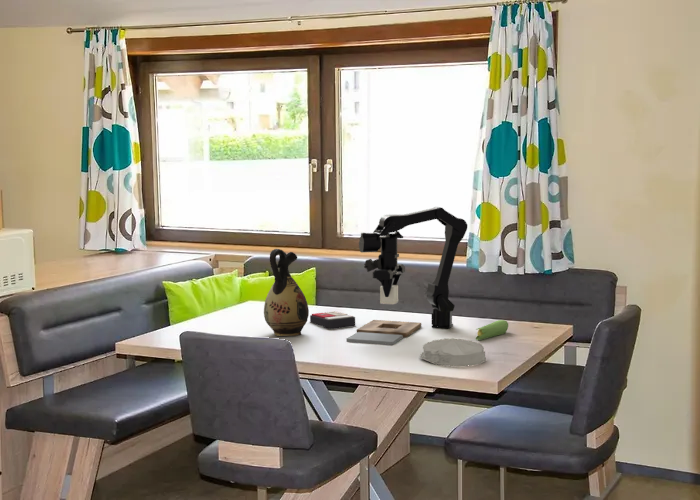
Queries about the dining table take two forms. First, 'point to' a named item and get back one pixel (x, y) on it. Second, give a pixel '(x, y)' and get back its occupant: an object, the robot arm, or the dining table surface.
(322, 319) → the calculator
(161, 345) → the dining table surface
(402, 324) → the pocket plate
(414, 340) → the dining table surface
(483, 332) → the edible corn
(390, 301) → the white block
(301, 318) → the ceramic jug
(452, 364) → the grey stone disc
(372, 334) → the grey mat
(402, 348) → the dining table surface
